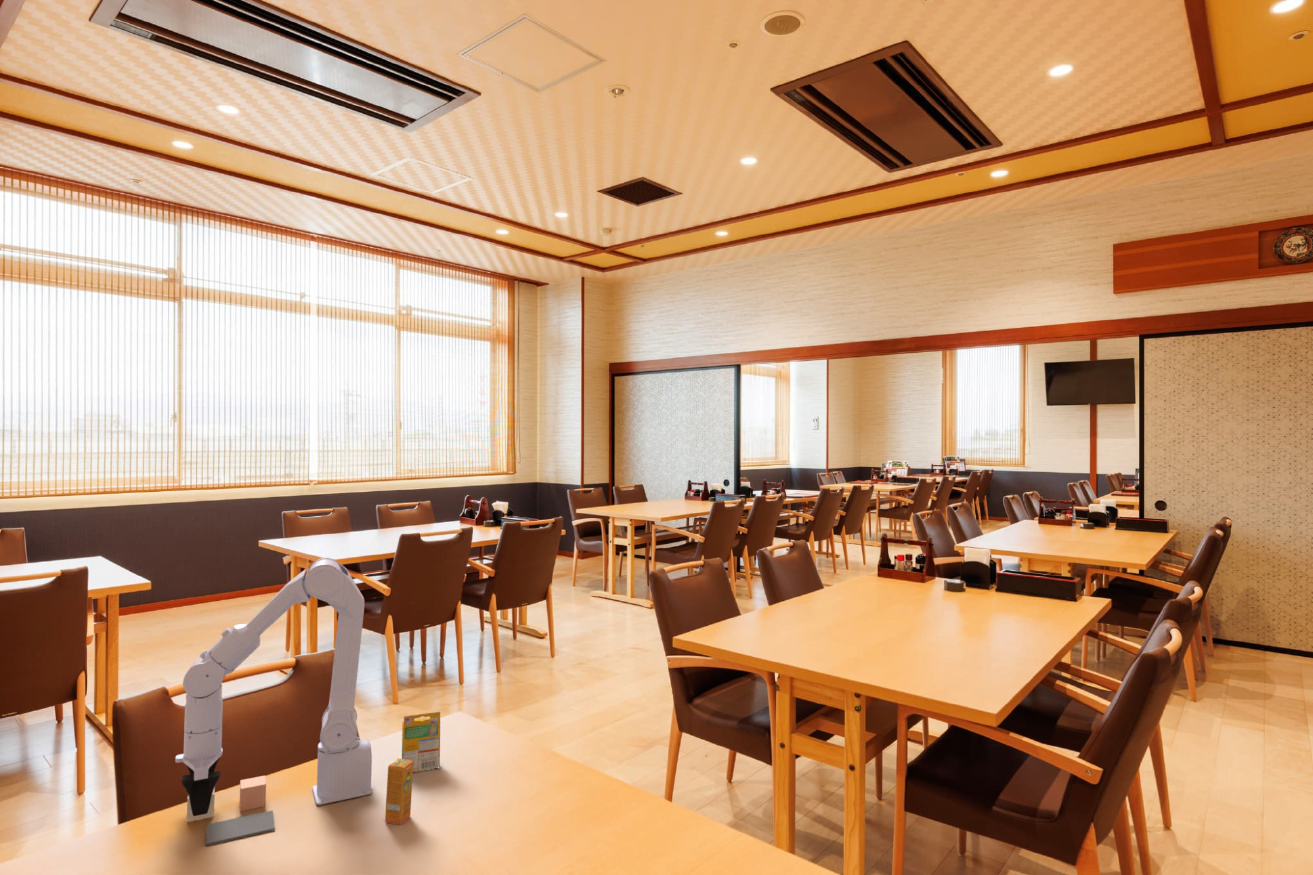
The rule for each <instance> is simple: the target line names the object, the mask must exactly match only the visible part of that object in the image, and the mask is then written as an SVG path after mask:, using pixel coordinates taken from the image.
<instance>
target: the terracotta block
mask: <svg viewBox="0 0 1313 875" xmlns="http://www.w3.org/2000/svg"><path fill="white" fill-rule="evenodd" d="M266 781H267V780H266V775H261V776H260V775H259V776H255V777H251V778H245V779H240V782H239V784H240V786H239V812H242V811H248V810H252V809H257V808H262V807H265V806H266V797H267V794H266V793H267V782H266Z"/></svg>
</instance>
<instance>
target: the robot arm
mask: <svg viewBox="0 0 1313 875" xmlns="http://www.w3.org/2000/svg"><path fill="white" fill-rule="evenodd" d="M306 571H307V573H306ZM312 597H313V598H316V599H317V600H320V601H323V602H325V603H327V604H328V605H329V606H330V607H332V608H333V609H334V610H335V612H336V613H338V616H337V625H336V626H337V628H336V635H335V636H336V637H335V644H334V655H333V663H332V673H331V674H332V675H331V680H330V681H331V684H330V692H329V701H328V706H327V707H326V709H325V710H324V712H323V715H322V718H321V730H320V734H319V740H320V742H319V743H318V744H317V767H316V768H317V769H316V772H317V773H316V774H317V775H316V777H317V778H316V785H313V786H312V791H313V792H312V793H313V797H314V800H315V804H316V805H317V806H322V805H326V804H330V803H334V802H336V803H337V802H340V801H344V800H348V799H353V798H357V797H363V796H367V795H371V794H372V765H373V764H372V763H373V762H372V760H373V759H372V758H373V756H372V754H373V753H372V752H373V751H372V744H371V740H370V739H361V740H360V737H359V736H358V726H357V721H358V720H357V719H358V714H357V710H356V708H355V703H356V702H355V700H356V688H357V680H358V671H359V664H360V663H359V662H360V651H361V642H362V634H363V633H362V632H363V625H364V624H363V622H364V614H365V613H364V612H365V606H366V605H365V598H364V596H363V594H362V592H361V591H360V589H359V587H358V586H357V584H356V582H355V581H354V579H353V577H352V576H351V574H350V572H349V569H347V568H346V567H345V566H344V565H343V564H342V563H340V562H339V561H337V560H336V559H333V558H330V557H322V558H319V559H317V560H315V561H314V562H312V564H311V565H310V566H309V567H308V570H307V568H306V569H303V571H301V572H300V573H298V574H297V575H296V576H295V577H293V578H292V579H290V581H288V582H287V583H286V584H285V585H284V586H283V588H282V587H281V589H280V590H279V591H278V592H277V593H276V594H275V595H274V596H273V598H271V599H270V600H269V601H268V602H267V603H266V604H265V605H264V607H262V608H261V609H260V610H259V611H258V612H257V614H255V616H254V617H252V618H251V619H250V621H248V622H247V623H241V624H240V623H239V624H236V625H234V626H232V627H231V628H229V627H227V628H226V629H224V631H222V633H221V636H222V637H221V638H220V639H219V640H218V641H217V642H216V643H215V644H213V645H212V646H211V647H210V649H208V651H207V650H203V652H201V653H200V654H199V657H200V659H197V660H196V661H195V662H194V663H193V664H192V665H191V666H190V667H189V669H188V670H187V671H186V673H185V674H184V677H183V681H182V686H183V689H184V692H186V694H185V705H184V727H183V730H184V732H183V733H184V734H183V753H181V754H177V755H175V757H174V758H175V763H183V764H185V765H186V767H187V770H188V772H189V774H184V775H182V777H181V783H182V784H181V785H182V786H183V787H184V789H185V791H186V793H187V796H188V795H189V799H190V804H191V810H192V814H193V816H198V815H203V814H207V812H208V810H209V806H210V801H211V796H212V792H213V789H214V787H215V788H216V785H217V782H218V781H219V779H220V777H221V770H217V771H215V769H216V767H217V765H218V762H219V760H220V758H221V756H223V753H224V752H223V747H222V745H223V744H222V743H223V742H222V741H223V740H222V739H223V706H224V705H223V704H224V699H223V695H222V694H223V684H222V683H223V682H224V681H223V680H225V678H226V676H227V675H230V674H232V673H233V672H234V671H235V670H236V669H237V668H238V667H239V666H240V665H241V664H242V663H243V662H244V661H245V660H247V659H248V658H249V657H250V655H252V654H253V653H254V652H255V651H256V650H257V649H258V648H259V647H260V645H261V635H262V634H263V633H264V632H265V631H266V630H267V629H269V628H270V627H271V626H273V624H274V623H275V622H276V621H277V620H278V619H280V618H281V617H282V616H283V615H284V614H285V613H286V612H287V611H289V610H290V609H291V608H292V607H293V606H294V605H295V604H302V603H305V602H306V603H307V602H309V601H311V598H312Z"/></svg>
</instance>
